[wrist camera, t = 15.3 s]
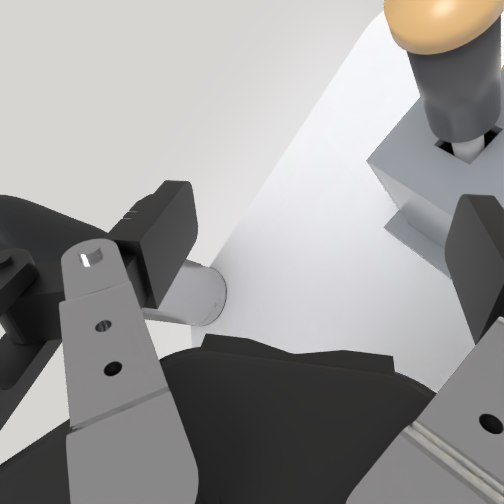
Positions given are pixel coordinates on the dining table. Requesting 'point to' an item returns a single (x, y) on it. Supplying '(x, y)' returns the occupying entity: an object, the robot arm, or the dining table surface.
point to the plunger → (453, 65)
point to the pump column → (434, 180)
